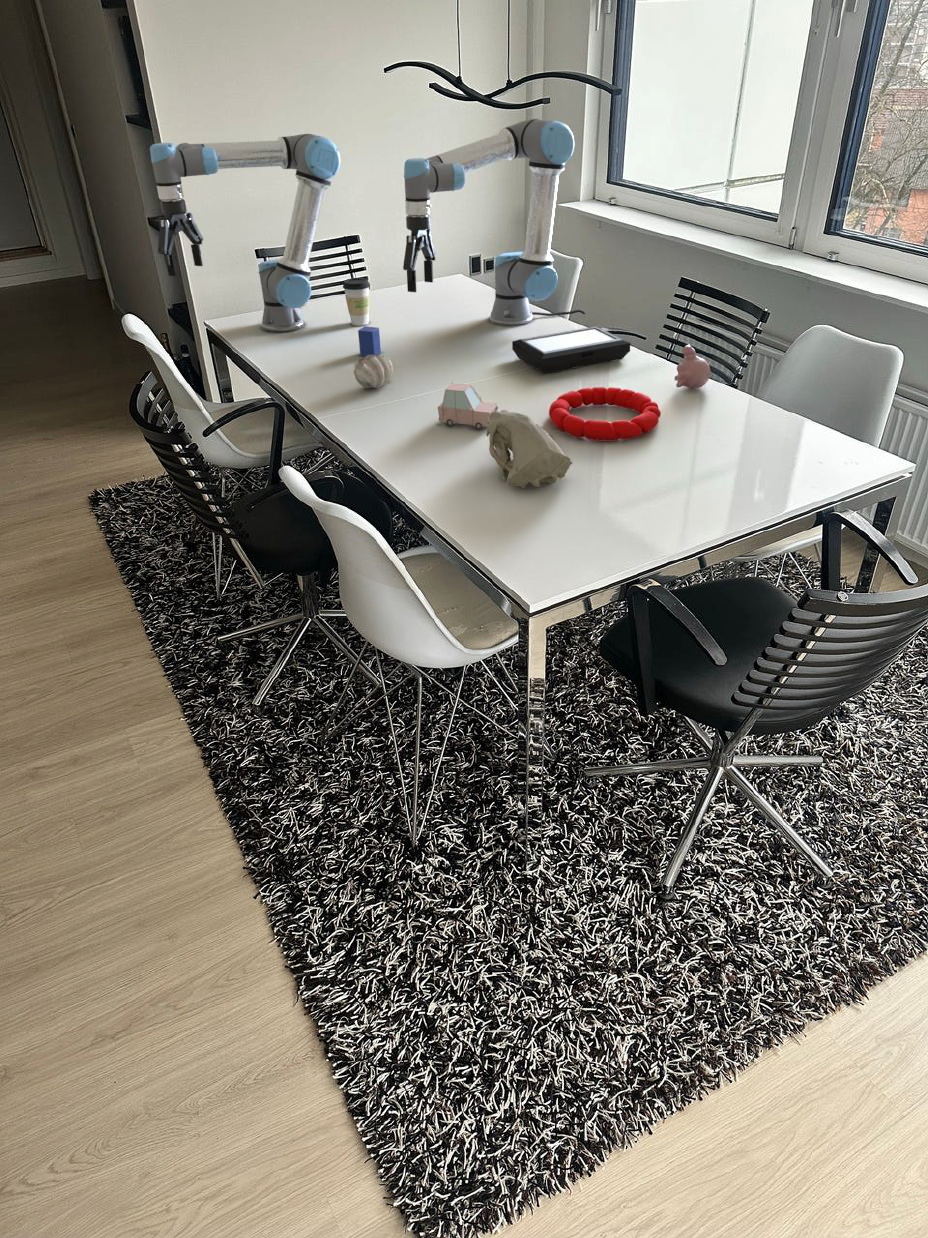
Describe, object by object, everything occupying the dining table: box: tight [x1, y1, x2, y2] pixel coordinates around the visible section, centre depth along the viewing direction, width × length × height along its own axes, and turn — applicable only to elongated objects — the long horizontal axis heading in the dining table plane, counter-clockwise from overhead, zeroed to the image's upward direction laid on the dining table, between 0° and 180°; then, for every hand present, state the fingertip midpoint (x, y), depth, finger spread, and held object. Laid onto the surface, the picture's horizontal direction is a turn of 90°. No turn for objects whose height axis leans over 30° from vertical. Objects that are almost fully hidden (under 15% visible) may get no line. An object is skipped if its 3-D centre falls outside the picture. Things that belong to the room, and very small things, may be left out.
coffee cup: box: [342, 277, 371, 327], centre depth 323 cm, size 10×10×15 cm
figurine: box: [674, 344, 711, 390], centre depth 259 cm, size 9×11×12 cm
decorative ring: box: [548, 386, 661, 442], centre depth 242 cm, size 7×30×30 cm
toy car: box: [437, 382, 499, 431], centre depth 243 cm, size 9×15×10 cm, turn 70°
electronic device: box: [511, 326, 631, 374], centre depth 286 cm, size 32×6×20 cm
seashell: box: [353, 354, 394, 389], centre depth 268 cm, size 10×15×10 cm
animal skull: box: [485, 409, 573, 489], centre depth 216 cm, size 17×25×20 cm
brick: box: [357, 325, 382, 357], centre depth 295 cm, size 5×5×8 cm
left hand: (186, 270), depth 289 cm, fingers open, 13 cm apart
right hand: (420, 286), depth 286 cm, fingers open, 13 cm apart
